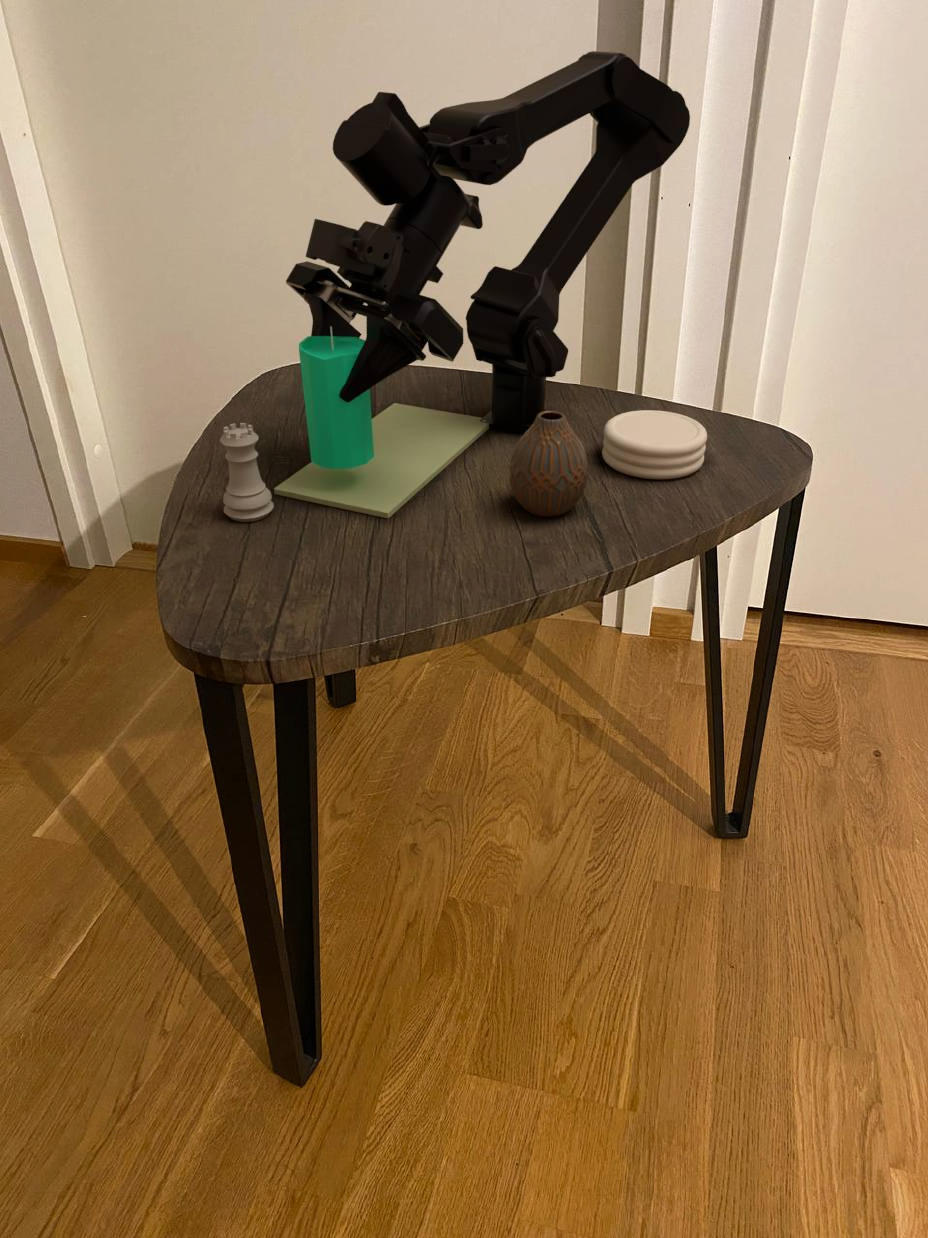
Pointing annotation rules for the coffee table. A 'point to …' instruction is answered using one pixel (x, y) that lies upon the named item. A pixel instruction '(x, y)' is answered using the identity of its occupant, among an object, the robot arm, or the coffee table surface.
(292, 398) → the coffee table surface
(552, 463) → the vase
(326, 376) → the candle
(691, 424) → the coaster
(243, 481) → the rook chess piece
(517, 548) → the coffee table surface
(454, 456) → the pale green rectangular board
